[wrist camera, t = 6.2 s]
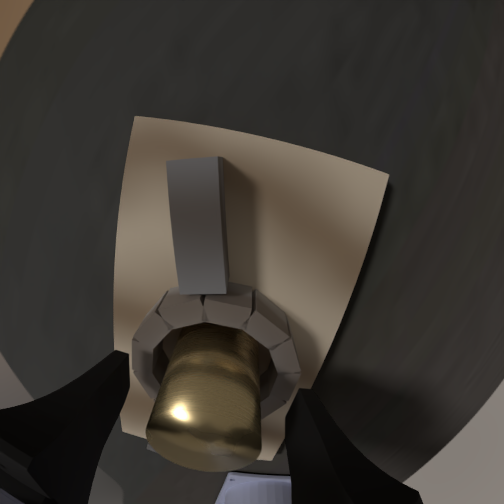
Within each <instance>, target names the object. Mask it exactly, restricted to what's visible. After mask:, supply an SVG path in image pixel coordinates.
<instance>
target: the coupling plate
mask: <svg viewBox="0 0 504 504" xmlns="http://www.w3.org/2000/svg"><path fill="white" fill-rule="evenodd" d="M388 177H389V174H386V173H383V172H381V171H378V170H375V169H372V168H369V167H366V166H363V165H361V164H358V163H354V162H351V161H348V160H345V159H342V158H339V157H336V156H332V155H329V154H326V153H322V152H319V151H315V150H312V149H308V148H305V147H301V146H297V145H293V144H290V143H286V142H282V141H278V140H274V139H269V138H265V137H261V136H256V135H252V134H247V133H242V132H238V131H233V130H228V129H222V128H217V127H211V126H206V125H200V124H193V123H187V122H180V121H173V120H166V119H158V118H149V117H140V116H135V119H134V123H133V128H132V133H131V137H130V143H129V148H128V153H127V159H126V165H125V171H124V177H123V184H122V191H121V199H120V207H119V216H118V226H117V238H116V251H115V269H114V349H115V350H119V351H122V352H125V353H128V354H129V367H130V389H129V392H128V395H127V398H126V401H125V403H124V406H123V408H122V410H121V412H120V416H121V424H122V430H123V432H126V433H129V434H132V435H136V436H139V437H142V438H146V433H145V431H146V427H147V424H148V421H149V418H150V415H151V412H152V409H153V406H154V403H155V400H156V397H157V395H158V392H159V389H160V386H161V383H162V380H163V378H164V375H165V372H166V369H167V367H168V364H169V361H170V358H171V356H172V353H173V350H174V348H175V345H176V342H177V340H178V337H179V334H180V332H181V330H182V328H183V327H185V326H189V325H194V324H198V323H202V322H209V323H213V324H218V325H223V326H228V327H232V328H238V329H242V330H244V331H245V332H246V333H248V334H249V335H250V336H252V337H253V338H254V339H256V340H257V341H258V346H259V373H260V403H261V434H262V451H261V453H260V455H259V457H258V458H257V459H258V460H270V461H272V459H273V457H274V456H275V454H276V452H277V450H278V449H279V447H280V445H281V444H282V442H283V440H284V438H285V416H286V414H287V412H288V410H289V408H290V406H291V404H292V402H293V400H294V398H295V396H296V393H297V391H298V389H299V388H305V389H311V387H312V385H313V383H314V381H315V379H316V377H317V374H318V372H319V370H320V368H321V366H322V364H323V362H324V359H325V357H326V355H327V353H328V350H329V348H330V346H331V344H332V341H333V339H334V337H335V334H336V332H337V330H338V327H339V325H340V322H341V320H342V317H343V315H344V312H345V310H346V307H347V305H348V302H349V300H350V297H351V294H352V292H353V289H354V286H355V284H356V281H357V278H358V275H359V273H360V270H361V267H362V264H363V261H364V258H365V255H366V252H367V249H368V246H369V243H370V240H371V237H372V234H373V230H374V227H375V224H376V220H377V217H378V214H379V210H380V207H381V203H382V200H383V196H384V192H385V188H386V185H387V181H388ZM146 439H147V438H146ZM147 449H149V450H151V451H154V452H156V451H155V450H154V449H153V448H152V446H151V445H150V444H149V442H148V445H147ZM156 453H157V452H156Z"/></svg>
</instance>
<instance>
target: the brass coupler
mask: <svg viewBox="0 0 504 504" xmlns="http://www.w3.org/2000/svg"><path fill="white" fill-rule="evenodd" d="M145 433H146V438H147V440H148V442H149V444H150V445H151V446H152V448H153V449H154V450H155V451H156V452H157V453H159V454H160V455H161V456H163V457H164V458H166V459H168V460H169V461H171V462H173V463H176V464H178V465H181V466H183V467H187V468H190V469H195V470H200V471H208V472H224V471H231V470H236V469H240V468H243V467H245V466H247V465H249V464H251V463H253V462H254V461H255V460H256V459H257V458H258V457H259V455H260V453H261V451H262V434H261V403H260V373H259V346H258V341H257V340H256V339H254V338H253V337H252V336H250V335H249V334H248V333H246V332H245V331H244V330H242V329H238V328H232V327H228V326H223V325H218V324H213V323H209V322H202V323H198V324H194V325H189V326H185V327H183V328H182V330H181V332H180V334H179V337H178V340H177V342H176V345H175V348H174V350H173V353H172V356H171V358H170V361H169V364H168V367H167V369H166V372H165V375H164V378H163V380H162V383H161V386H160V389H159V392H158V395H157V397H156V400H155V403H154V406H153V409H152V412H151V415H150V418H149V421H148V424H147V427H146V431H145Z"/></svg>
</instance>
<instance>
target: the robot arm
mask: <svg viewBox="0 0 504 504" xmlns="http://www.w3.org/2000/svg"><path fill="white" fill-rule="evenodd" d="M129 389H130V367H129V354H128V353H125V352H122V351H119V350H115V351H113V352H112V353H111V354H109V355H108V356H107V357H105V358H104V359H103V360H102V361H100V362H99V363H98V364H96V365H95V366H94V367H92V368H91V369H90V370H88V371H87V372H85V373H84V374H83V375H81V376H80V377H78V378H77V379H75V380H73V381H72V382H70V383H69V384H67V385H65V386H64V387H62V388H60V389H58V390H56V391H54V392H52V393H50V394H48V395H46V396H44V397H41V398H39V399H36V400H34V401H31V402H29V403H25V404H22V405H18V406H15V407H11V408H6V409H1V410H0V504H88V500H89V496H90V491H91V487H92V482H93V479H94V475H95V472H96V468H97V465H98V462H99V459H100V456H101V453H102V450H103V447H104V445H105V443H106V441H107V439H108V437H109V434H110V432H111V430H112V428H113V426H114V424H115V422H116V420H117V418H118V416H119V414H120V412H121V410H122V408H123V406H124V403H125V401H126V398H127V395H128V392H129ZM285 441H286V449H287V456H288V463H289V470H290V476H273V475H258V474H247V473H238V472H230V473H228V475H227V477H226V480H225V482H224V484H223V487H222V489H221V491H220V493H219V496H218V498H217V500H216V502H215V504H423V502H422V499H421V497H420V494H419V492H418V491H417V490H415V489H413V488H410V487H408V486H407V485H405V484H403V483H401V482H399V481H397V480H396V479H394V478H393V477H391V476H389V475H388V474H386V473H385V472H384V471H382V470H381V469H380V468H378V467H377V466H376V465H375V464H373V463H372V462H371V461H370V460H369V459H367V458H366V457H365V456H364V455H363V454H362V453H361V452H360V451H359V450H358V449H357V448H356V447H355V446H354V445H353V444H352V443H351V442H350V440H349V439H348V438H347V437H346V436H345V435H344V433H343V432H342V431H341V430H340V428H339V427H338V426H337V424H336V423H335V422H334V420H333V419H332V417H331V416H330V415H329V413H328V412H327V410H326V409H325V407H324V406H323V404H322V403H321V401H320V400H319V398H318V397H317V395H316V394H315V392H314V391H313V389H305V388H299V389H298V391H297V393H296V396H295V398H294V400H293V402H292V404H291V406H290V408H289V410H288V412H287V414H286V416H285Z"/></svg>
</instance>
